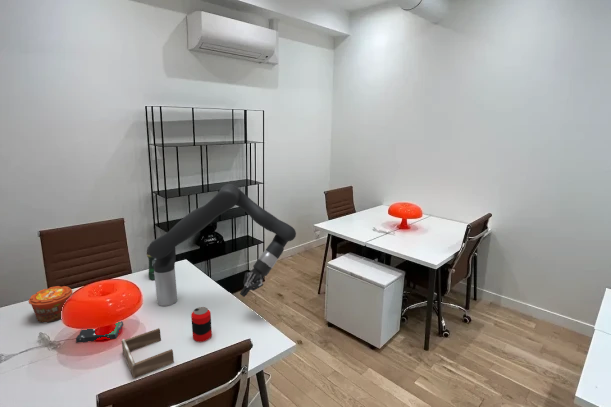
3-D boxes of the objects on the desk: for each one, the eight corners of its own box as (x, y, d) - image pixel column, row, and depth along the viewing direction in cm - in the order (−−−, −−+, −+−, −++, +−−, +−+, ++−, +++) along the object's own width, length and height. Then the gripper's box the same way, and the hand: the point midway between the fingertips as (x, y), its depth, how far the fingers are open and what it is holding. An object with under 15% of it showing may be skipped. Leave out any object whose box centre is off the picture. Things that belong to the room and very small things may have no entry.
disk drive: (76, 344, 139) (116, 339, 142) (75, 338, 138) (116, 333, 141) (86, 329, 149) (123, 325, 152) (84, 323, 148) (122, 319, 151)
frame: (123, 352, 134) (121, 339, 132) (160, 338, 142) (158, 326, 141) (133, 378, 121) (131, 365, 119) (173, 362, 129) (172, 349, 127)
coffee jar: (148, 281, 190) (145, 249, 186) (149, 275, 198) (145, 244, 193) (167, 278, 194) (164, 247, 190) (167, 272, 201) (164, 242, 197)
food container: (35, 311, 161) (31, 290, 158) (76, 302, 169) (73, 282, 166) (29, 329, 147) (24, 306, 145) (74, 318, 155) (70, 297, 152)
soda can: (199, 329, 149) (197, 304, 146) (215, 332, 146) (213, 307, 144) (189, 340, 142) (187, 314, 139) (205, 343, 139) (203, 317, 137)
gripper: (252, 254, 159) (229, 285, 155) (268, 263, 149) (243, 298, 145) (263, 262, 164) (240, 293, 160) (278, 272, 154) (254, 305, 149)
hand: (241, 295), depth 152 cm, fingers closed
